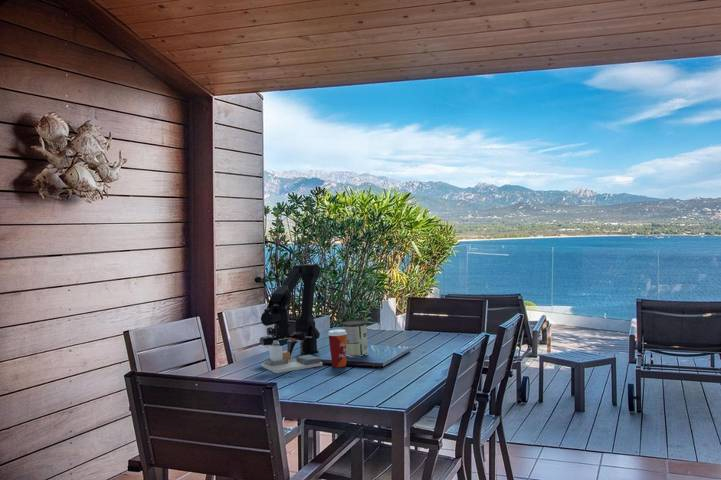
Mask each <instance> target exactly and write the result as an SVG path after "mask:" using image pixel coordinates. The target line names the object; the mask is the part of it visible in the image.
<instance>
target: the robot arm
mask: <svg viewBox="0 0 721 480" xmlns="http://www.w3.org/2000/svg"><path fill="white" fill-rule="evenodd" d="M320 273H321V268H320V266H319V265H318V264H317V263H304V264H295V265H293V266H292V269H291V271H290V272H289V274H288V276H286V279H285V280H284V282H283V283H282V284H281V286H280V287H277V288H276V289H275V290H274V291H273V293H272V294H271V296H270V297H269V298H270V299H269V301H268V304H267V306H266V308H265V309H264V311H263V312H262V314H261V316H260V321H261V323H262V324H263V325H264V326H265V327H266V334H267V336H260V338H259V344H260V345H262V346H274V345H280V344H279V343H278V342H284V341H286V345H287V351H289V352H290V357H291V355H292V353H293V351H294V348H295V346H296V344H298V343H299V342H298V341H300V343H299V347H300V349H299V350H300V351H299V352H300V353H302V354H303V355H311V354H313V353H314V354H316V353H319V350H318V343H317V342H318V339H320V335H321V334H320V332H319V330H318V329H317V328H316V321H315V319H314V318H313V313H314V312H313V310H314V298H315V285H316V283H317V281H318V279H319V277H320ZM300 280H301V281H302V283H303V286H302V297H301V298H302V299H301V313H300V316H299V317H298V318H296V319H295V326H294V328H295V331H294V332H292V334H290V327H291V325H290V323H289V311H291V309H292V308H291V307H290V306H289V304H290V302H291V300H292V298H293V297H292V296H293V295H292V292H293V291H294V289H295V288H296V286H297V284H298V282H299V281H300ZM271 325H273V328H272V327H271ZM268 326H269V327H268ZM297 340H298V341H297ZM280 346H281V345H280Z"/></svg>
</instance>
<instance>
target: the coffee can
mask: <svg viewBox="0 0 721 480" xmlns="http://www.w3.org/2000/svg"><path fill="white" fill-rule="evenodd" d="M367 323H368V322H367V321H366V320H360V319H359V320H356V319H355V320H346V321H343V322H342V324H341V325H342V330H346V333H347V334H346V355H350V356H361V355H366V354H368V355H369V347H368V346H369V345H368V331H367Z"/></svg>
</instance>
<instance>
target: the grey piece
mask: <svg viewBox="0 0 721 480" xmlns="http://www.w3.org/2000/svg"><path fill="white" fill-rule="evenodd" d="M296 358H297V362H300V363H302V364H305V365H311V364H317V363H320V362H321V358H320V357H317V356H314V355H313V354H303V355H299V356H296Z"/></svg>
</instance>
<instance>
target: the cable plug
mask: <svg viewBox="0 0 721 480" xmlns="http://www.w3.org/2000/svg"><path fill="white" fill-rule="evenodd" d="M282 355H283V358H285V359H287V360H288V359H291V356H290V352H289V351H288V350H282Z"/></svg>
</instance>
